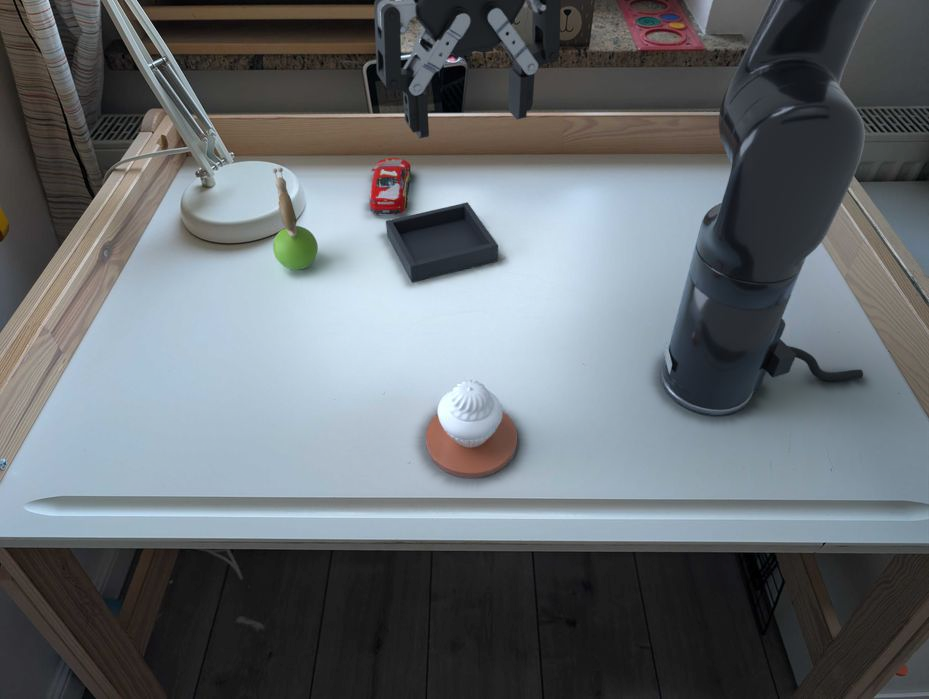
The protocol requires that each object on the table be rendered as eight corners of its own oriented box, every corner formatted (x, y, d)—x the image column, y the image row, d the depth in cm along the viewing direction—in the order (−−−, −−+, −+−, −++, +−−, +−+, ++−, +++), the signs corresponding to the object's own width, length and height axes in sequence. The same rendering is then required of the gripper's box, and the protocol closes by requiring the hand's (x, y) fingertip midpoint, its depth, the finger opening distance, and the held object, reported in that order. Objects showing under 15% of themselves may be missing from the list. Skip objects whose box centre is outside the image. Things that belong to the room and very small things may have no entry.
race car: (377, 170, 108) (375, 145, 105) (413, 170, 108) (412, 145, 105) (366, 219, 99) (362, 194, 96) (405, 219, 98) (403, 194, 96)
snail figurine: (315, 244, 95) (299, 163, 86) (324, 273, 90) (308, 190, 82) (274, 252, 93) (254, 171, 85) (281, 282, 89) (260, 199, 81)
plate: (495, 396, 75) (495, 391, 75) (531, 461, 69) (532, 456, 69) (414, 421, 73) (413, 415, 72) (444, 490, 67) (443, 485, 66)
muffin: (507, 416, 72) (509, 368, 67) (494, 465, 68) (496, 417, 63) (447, 406, 73) (445, 358, 68) (431, 454, 69) (428, 406, 64)
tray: (467, 217, 99) (467, 202, 97) (497, 261, 92) (498, 245, 90) (387, 236, 96) (385, 220, 94) (411, 282, 89) (410, 266, 87)
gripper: (381, -77, 43) (401, 163, 55) (590, -102, 47) (568, 128, 58) (350, -105, 48) (374, 120, 60) (541, -126, 52) (529, 91, 63)
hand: (470, 124), depth 59 cm, fingers open, 8 cm apart
